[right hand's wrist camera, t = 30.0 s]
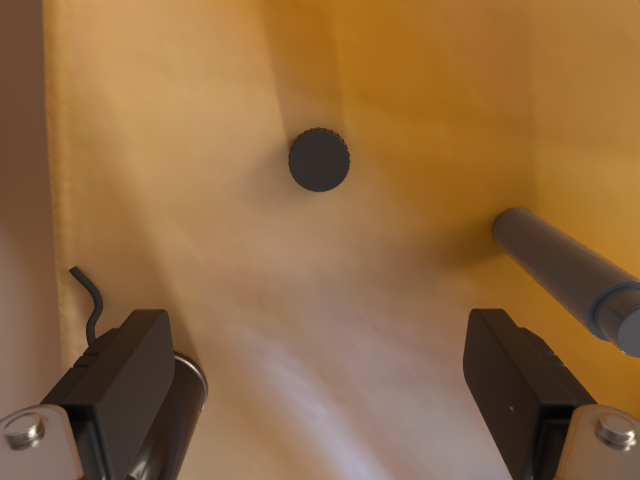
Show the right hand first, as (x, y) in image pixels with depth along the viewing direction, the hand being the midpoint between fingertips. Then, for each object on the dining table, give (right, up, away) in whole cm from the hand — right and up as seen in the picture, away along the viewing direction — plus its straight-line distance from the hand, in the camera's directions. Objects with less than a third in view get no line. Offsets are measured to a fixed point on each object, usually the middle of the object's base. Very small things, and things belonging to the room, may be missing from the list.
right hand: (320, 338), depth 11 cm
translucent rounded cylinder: (+18, +4, +28) cm, 34 cm away
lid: (0, +9, +24) cm, 26 cm away
